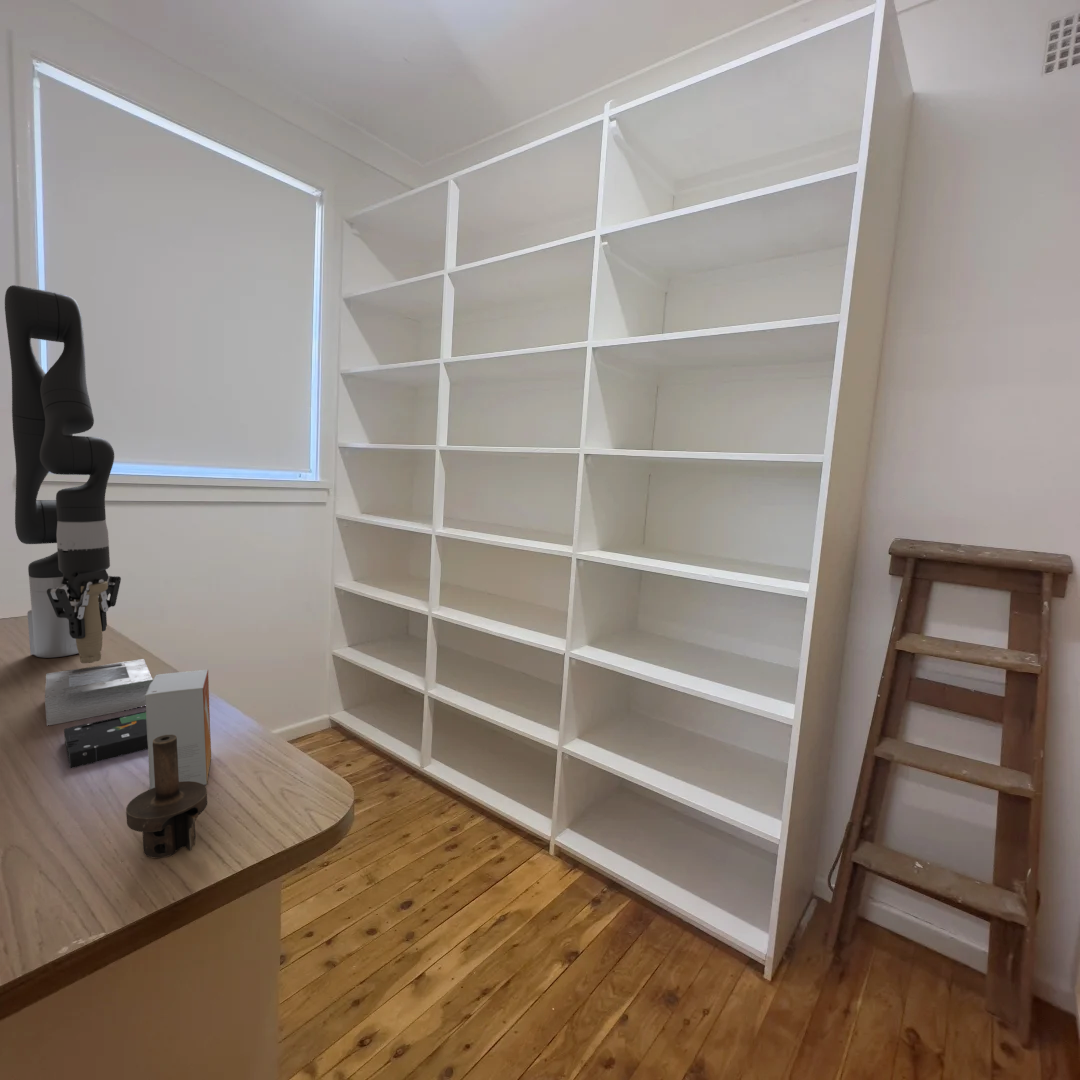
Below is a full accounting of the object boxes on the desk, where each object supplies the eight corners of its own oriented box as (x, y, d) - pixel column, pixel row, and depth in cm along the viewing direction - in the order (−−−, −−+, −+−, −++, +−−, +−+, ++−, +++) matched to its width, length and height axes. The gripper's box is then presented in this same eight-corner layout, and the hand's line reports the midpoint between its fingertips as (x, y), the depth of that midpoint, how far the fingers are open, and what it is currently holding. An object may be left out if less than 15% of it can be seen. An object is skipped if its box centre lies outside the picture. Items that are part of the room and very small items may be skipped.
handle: (112, 661, 109) (108, 584, 108) (69, 668, 105) (64, 587, 103) (110, 654, 113) (106, 579, 111) (68, 660, 109) (63, 583, 107)
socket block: (46, 726, 90) (44, 697, 89) (48, 698, 100) (46, 672, 100) (154, 704, 98) (152, 678, 98) (144, 681, 109) (143, 657, 109)
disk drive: (70, 773, 77) (196, 739, 87) (68, 754, 77) (195, 722, 87) (64, 746, 84) (180, 717, 95) (62, 728, 84) (179, 701, 94)
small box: (208, 785, 74) (203, 687, 72) (148, 796, 71) (143, 694, 69) (212, 757, 81) (208, 667, 79) (159, 766, 78) (154, 673, 77)
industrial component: (221, 844, 62) (216, 738, 61) (143, 879, 57) (136, 763, 55) (187, 811, 68) (182, 713, 67) (114, 840, 62) (107, 734, 61)
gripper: (97, 539, 114) (102, 623, 116) (27, 548, 100) (34, 644, 102) (132, 541, 113) (137, 625, 115) (67, 551, 99) (73, 647, 101)
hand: (88, 634), depth 108 cm, fingers closed on handle, 4 cm apart
